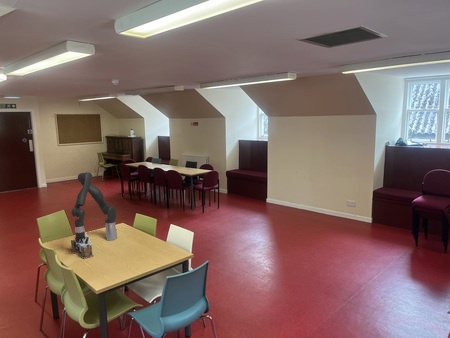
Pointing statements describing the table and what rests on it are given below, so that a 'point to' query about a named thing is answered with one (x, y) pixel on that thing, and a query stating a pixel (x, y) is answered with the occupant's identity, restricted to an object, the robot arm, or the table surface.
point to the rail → (81, 245)
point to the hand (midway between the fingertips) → (81, 249)
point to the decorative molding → (88, 240)
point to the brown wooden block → (82, 251)
